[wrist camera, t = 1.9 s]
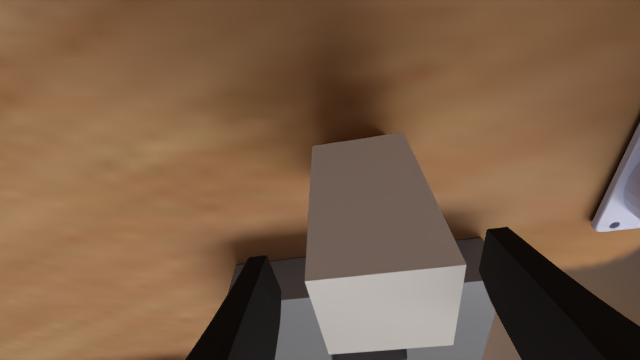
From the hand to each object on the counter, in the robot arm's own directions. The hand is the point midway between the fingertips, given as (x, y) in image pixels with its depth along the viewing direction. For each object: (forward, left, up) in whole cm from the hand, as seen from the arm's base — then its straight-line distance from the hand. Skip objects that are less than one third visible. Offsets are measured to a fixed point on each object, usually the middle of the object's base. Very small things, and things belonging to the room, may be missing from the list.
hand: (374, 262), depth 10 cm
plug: (0, 0, -7) cm, 7 cm away
